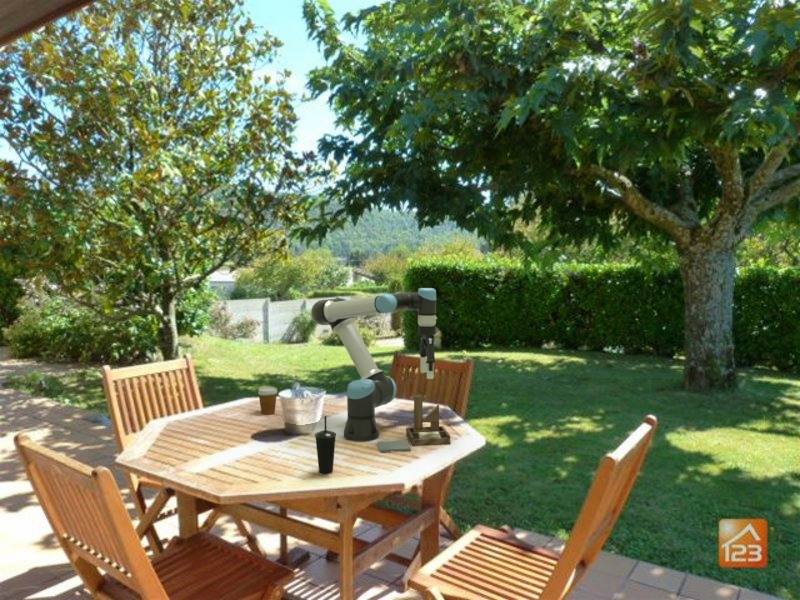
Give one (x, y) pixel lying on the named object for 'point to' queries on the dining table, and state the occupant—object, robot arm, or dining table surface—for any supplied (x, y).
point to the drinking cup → (325, 449)
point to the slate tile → (393, 446)
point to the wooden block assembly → (431, 417)
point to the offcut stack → (428, 435)
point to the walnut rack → (416, 441)
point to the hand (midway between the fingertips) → (426, 375)
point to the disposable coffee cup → (267, 400)
